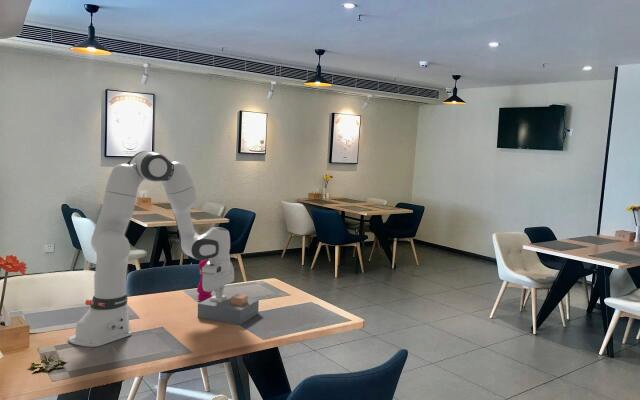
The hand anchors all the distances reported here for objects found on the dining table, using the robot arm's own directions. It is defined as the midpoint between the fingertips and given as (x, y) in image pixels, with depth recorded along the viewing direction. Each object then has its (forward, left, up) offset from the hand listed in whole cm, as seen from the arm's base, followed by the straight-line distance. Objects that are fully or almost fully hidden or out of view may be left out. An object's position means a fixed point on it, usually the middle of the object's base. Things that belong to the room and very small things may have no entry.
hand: (219, 296), depth 219 cm
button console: (0, -5, -8) cm, 9 cm away
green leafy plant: (-68, +21, -8) cm, 72 cm away
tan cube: (0, -10, -3) cm, 10 cm away
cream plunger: (0, 0, -5) cm, 5 cm away
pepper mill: (+16, +17, -8) cm, 25 cm away
